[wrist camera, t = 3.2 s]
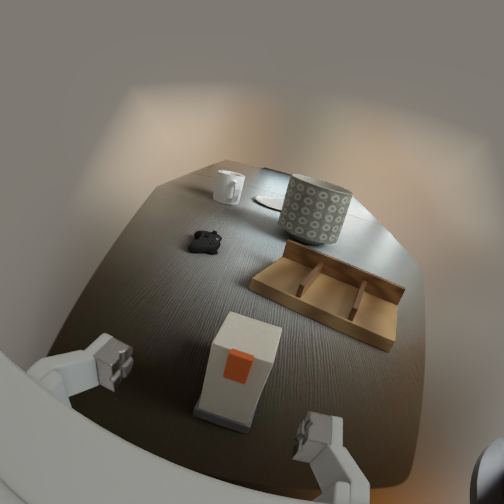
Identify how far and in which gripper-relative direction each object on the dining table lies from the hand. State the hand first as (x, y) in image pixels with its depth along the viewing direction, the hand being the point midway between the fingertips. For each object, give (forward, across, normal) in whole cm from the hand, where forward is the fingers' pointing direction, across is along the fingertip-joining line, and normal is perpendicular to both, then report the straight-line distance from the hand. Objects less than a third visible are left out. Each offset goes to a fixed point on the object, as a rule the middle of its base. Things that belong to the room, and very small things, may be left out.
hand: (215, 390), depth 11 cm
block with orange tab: (+15, 0, +17) cm, 23 cm away
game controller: (+51, +17, +17) cm, 57 cm away
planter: (+79, -5, +17) cm, 81 cm away
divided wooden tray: (+43, -12, +17) cm, 48 cm away
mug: (+97, +26, +17) cm, 102 cm away
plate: (+114, +8, +17) cm, 116 cm away
